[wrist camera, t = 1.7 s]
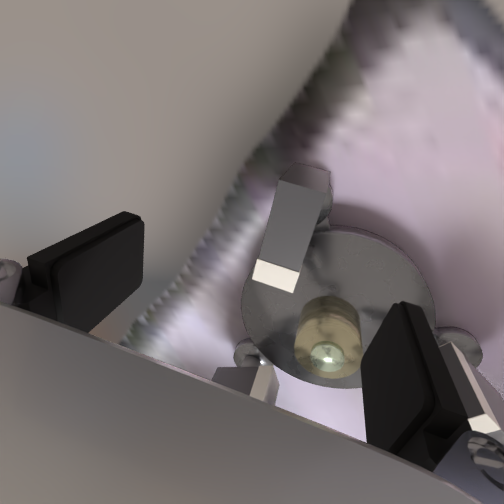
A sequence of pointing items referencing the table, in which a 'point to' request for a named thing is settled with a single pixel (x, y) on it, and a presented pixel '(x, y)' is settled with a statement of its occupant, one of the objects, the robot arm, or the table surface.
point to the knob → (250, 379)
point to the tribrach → (336, 307)
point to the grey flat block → (475, 394)
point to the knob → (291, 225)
